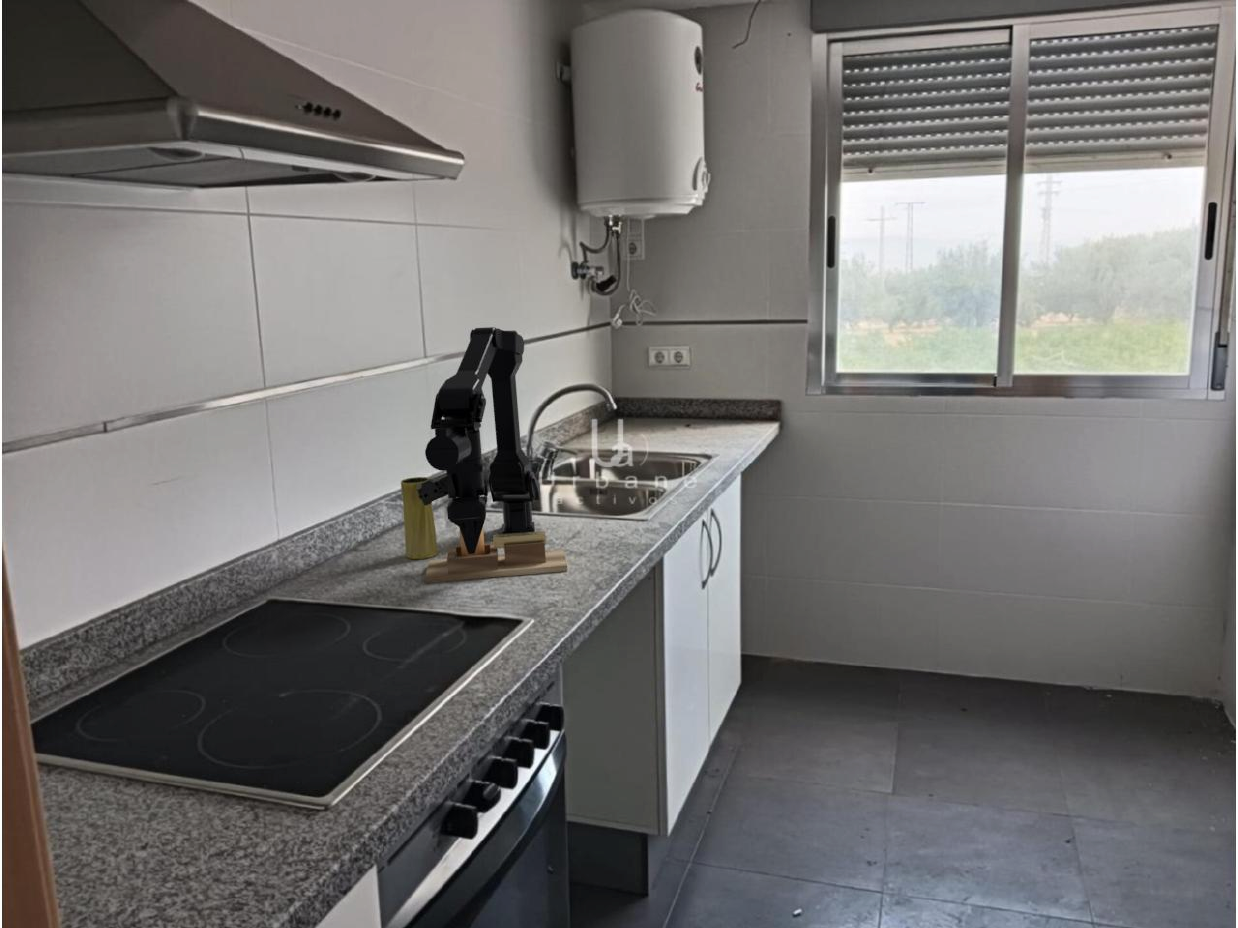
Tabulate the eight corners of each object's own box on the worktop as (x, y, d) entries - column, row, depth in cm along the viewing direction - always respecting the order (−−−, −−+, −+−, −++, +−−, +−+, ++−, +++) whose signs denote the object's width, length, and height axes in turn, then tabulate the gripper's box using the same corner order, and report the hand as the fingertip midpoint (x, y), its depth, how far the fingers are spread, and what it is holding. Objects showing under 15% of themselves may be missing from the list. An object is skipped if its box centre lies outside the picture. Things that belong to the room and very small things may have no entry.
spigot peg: (463, 562, 175) (459, 523, 173) (485, 560, 175) (482, 522, 174) (462, 568, 171) (458, 529, 169) (485, 566, 171) (482, 527, 170)
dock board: (430, 565, 177) (427, 541, 176) (564, 554, 180) (562, 530, 179) (425, 582, 167) (423, 557, 167) (567, 570, 170) (565, 545, 169)
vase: (399, 555, 185) (392, 480, 182) (428, 548, 189) (421, 475, 186) (415, 561, 180) (408, 485, 177) (445, 554, 184) (438, 479, 181)
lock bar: (494, 545, 174) (493, 534, 173) (545, 541, 175) (544, 530, 174) (494, 548, 172) (493, 537, 171) (546, 544, 173) (545, 533, 172)
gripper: (421, 452, 178) (429, 536, 181) (412, 472, 159) (420, 565, 162) (484, 447, 179) (491, 531, 182) (481, 467, 160) (489, 560, 163)
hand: (472, 546), depth 172 cm, fingers open, 9 cm apart
